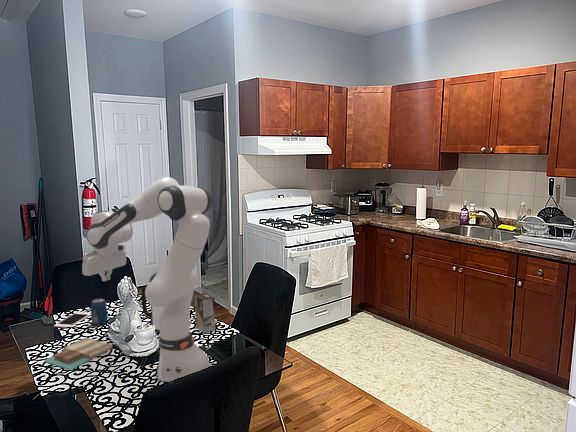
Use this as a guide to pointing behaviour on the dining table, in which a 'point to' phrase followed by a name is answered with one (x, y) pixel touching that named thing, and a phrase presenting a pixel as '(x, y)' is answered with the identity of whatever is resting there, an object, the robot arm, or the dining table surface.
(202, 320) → the coffee box
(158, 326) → the coffee press
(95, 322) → the soda can
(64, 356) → the tile
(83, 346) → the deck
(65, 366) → the mat
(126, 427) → the dining table surface
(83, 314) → the cell phone
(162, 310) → the robot arm
